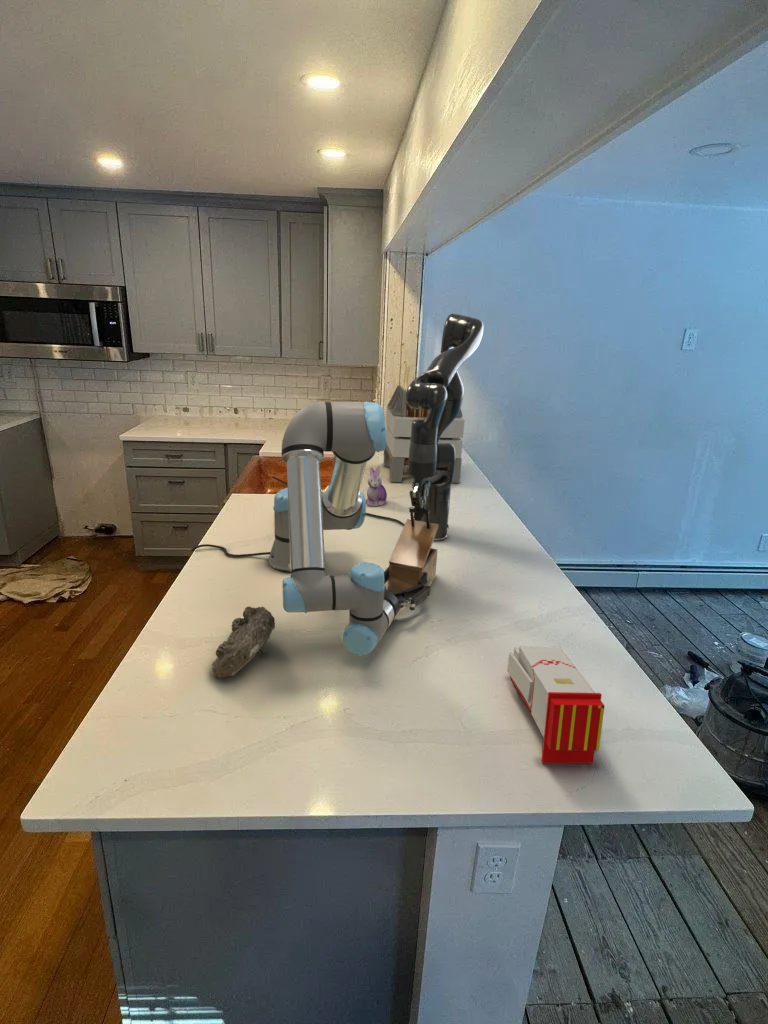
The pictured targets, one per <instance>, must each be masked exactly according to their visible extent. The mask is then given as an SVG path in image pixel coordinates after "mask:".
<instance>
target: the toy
mask: <svg viewBox="0 0 768 1024" xmlns="http://www.w3.org/2000/svg"><path fill="white" fill-rule="evenodd" d="M506 671H507V674H508V675H509V676H510V677H509V678H510V680H511V682H512V683H513V684H514V687H515V688H516V690H517V691H518V693H519V695H520V697H521V698H522V700H523V702H524V703H525V705H526V707H527V708H528V710H529V712H530V713H531V716H532V718H533V720H534V722H535V724H536V727H538V730H539V732H540V733H541V736H542V737H543V740H542V741H543V742H542V752H541V763H542V764H594V760H595V751H597V752H599V751H600V747H601V737H602V729H603V722H604V714H605V704H604V702H603V701H602V693H601V692H595V691H594V689H593V688H592V687H591V685H590V684H589V683H588V681H587V680H586V679H585V678H584V675H582V674H581V672H580V671H579V669H578V668H577V667H576V666H575V664H574V663H573V661H572V660H571V659H570V658H569V657H568V655H567V653H566V652H565V651H564V650H563V648H562V647H561V646H524V645H523V646H521V645H520V646H519V647H518V646H517V647H516V646H515V647H514V648H513V652H509V655H508V662H507V667H506Z"/></svg>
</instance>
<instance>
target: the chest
mask: <svg viewBox="0 0 768 1024" xmlns="http://www.w3.org/2000/svg"><path fill="white" fill-rule="evenodd" d="M437 560H438V549H437V548H432V547H431V549H430V551H429V554H428V557H427V560H426V562H425V565H424V568H423V570H417V569H412V568H406V567H401V566H396V565H391V564H389V565H388V567H389V578H388V580H387V590H391V591H399V590H402V589H403V590H406V589H409V588H411V587H414V586H416V585H418V581H419V580H420V579H421V577H422V576H423V574H424V573H425V572H427V581H428V583H427V586H430V587H431V585H432V583H433V582H434V580H435V578H436V574H437V573H436V572H437Z"/></svg>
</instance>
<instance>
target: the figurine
mask: <svg viewBox="0 0 768 1024" xmlns="http://www.w3.org/2000/svg"><path fill="white" fill-rule="evenodd" d="M381 469H382V468H381V466H378V467H377V468H376V469H375V470H374V468H373V467H372V466H370V467H369V477H368V479H367V484H368V488H367V491H366V497H367V498H366V500H365V501H366V505H367V506H370V507H377V506H383V505H385V504H386V502H387V496H388V494H387V493H388V492H387V490H386V488H385V486H384V485H383V484H382V478H381V475H380V474H381Z"/></svg>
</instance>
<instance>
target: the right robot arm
mask: <svg viewBox="0 0 768 1024" xmlns="http://www.w3.org/2000/svg"><path fill="white" fill-rule="evenodd" d="M442 331H443V332H442V335H441V336H442V338H441V346H440V353H439V354H437V356H435V357H434V359H433V360H432V361H431V363H430V364H429V366H428V368H427V369H426V370H425V371H424V372H422V373H421V374H419V375H418V376H417V377H415V379H413V380H412V381H411V382H410V384H409V385H408V387H407V389H406V402H407V404H408V405H409V406H410V407H411V408H414V409H421V410H429V411H430V414H429V416H428V417H426V418H418V419H415V420H413V422H412V425H411V441H410V447H409V461H408V466H407V473H408V475H409V476H410V477H413V478H414V479H413V481H412V483H411V488H412V490H410V491H409V499H410V503H411V507H413V508H414V513H413V515H414V520H416V521H422V522H426V514H422V511H423V509H426V510H430V513H429V521H430V523H434V524H438V525H439V527H438V530H437V533H436V535H435V538H434V541H433V542H440V541H444V540H446V539H447V538H448V530H449V528H450V526H449V517H450V516H449V514H450V504H451V494H452V493H451V491H452V485H453V483H452V481H453V473H454V466H455V457H456V454H455V448H454V446H453V445H452V444H450V443H438V441H439V439H440V436H441V435H442V433H443V432H444V430H445V429H446V428H447V427H448V426H449V425H450V424H451V423H452V421H453V420H454V419H455V418H456V417H457V415H458V414H459V412H460V409H461V410H462V405H463V400H464V394H465V390H464V384H463V381H462V379H461V377H460V374H459V372H458V370H459V369H460V368H461V367H462V366H463V365H464V364H465V362H466V361H467V360H469V358H470V357H471V356H472V355H473V354H474V352H476V350H477V349H478V347H479V346H480V343H481V341H482V338H483V335H484V323H483V321H482V320H481V319H479V318H476V317H471V316H468V315H463V314H459V313H455V312H453V313H450V314H448V316H447V317H446V319H445V321H444V325H443V330H442ZM271 478H272V479H274V480H275V481H278V482H280V483H282V484H284V485H286V486H287V481H284V480H282V479H280V478H278V477H276V476H274V475H273V476H272V477H271ZM365 516H369V517H374V518H379V519H383V520H389V521H393V522H396V523H398V524H400V525H401V526H403V527H404V526H405V523H403V522H402V521H401V520H399V519H397V518H393V517H388V516H382V515H380V514H379V515H378V514H374V513H369V512H366V513H365Z"/></svg>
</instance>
